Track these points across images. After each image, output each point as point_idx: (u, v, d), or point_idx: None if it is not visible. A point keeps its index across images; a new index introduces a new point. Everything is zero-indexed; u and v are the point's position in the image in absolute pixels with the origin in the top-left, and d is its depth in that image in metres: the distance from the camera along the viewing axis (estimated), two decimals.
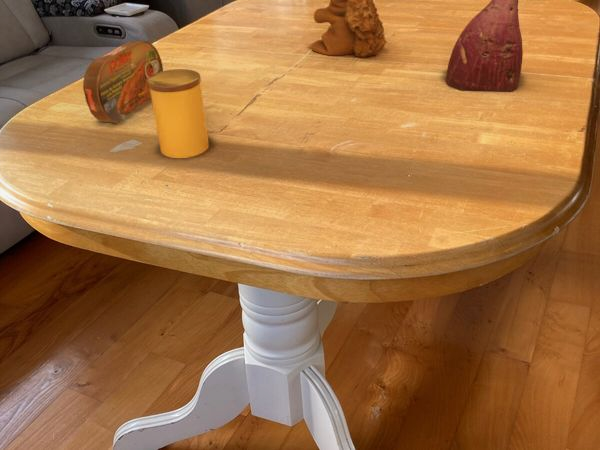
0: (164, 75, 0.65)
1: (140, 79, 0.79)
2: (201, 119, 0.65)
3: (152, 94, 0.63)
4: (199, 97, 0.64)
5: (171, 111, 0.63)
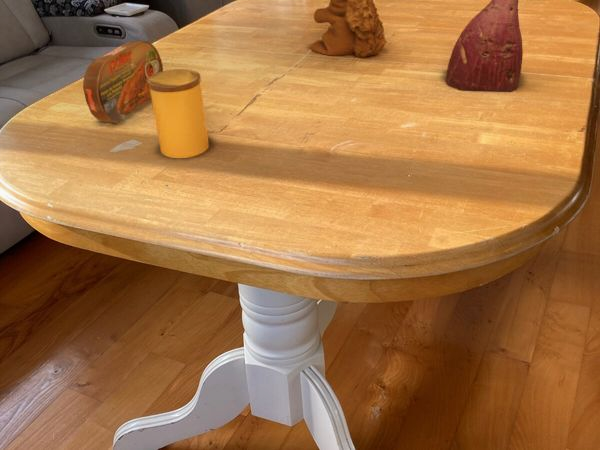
0: (164, 75, 0.65)
1: (140, 79, 0.79)
2: (201, 119, 0.65)
3: (152, 94, 0.63)
4: (199, 97, 0.64)
5: (171, 111, 0.63)
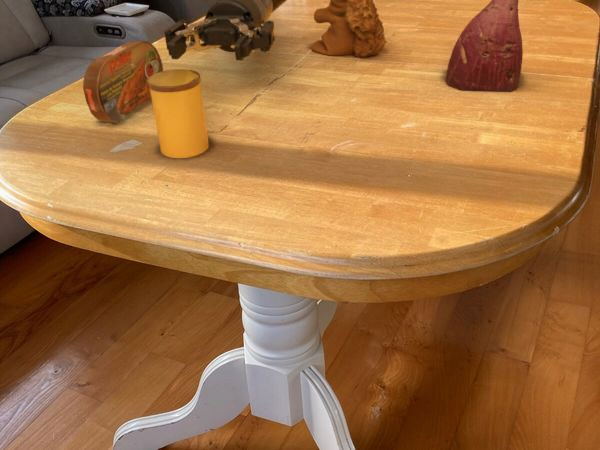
0: (164, 75, 0.65)
1: (140, 79, 0.79)
2: (201, 119, 0.65)
3: (152, 94, 0.63)
4: (199, 97, 0.64)
5: (171, 111, 0.63)
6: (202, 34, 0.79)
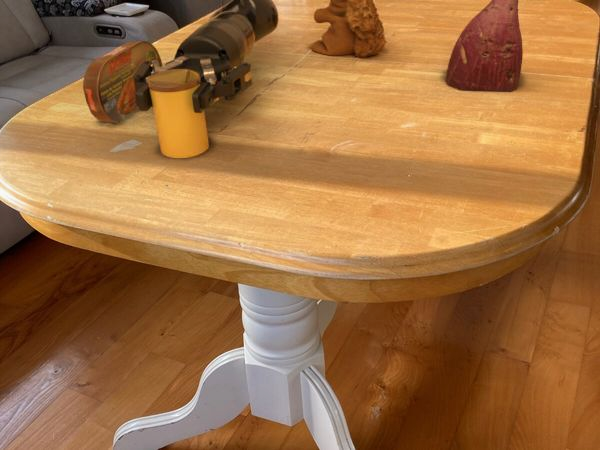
0: (164, 75, 0.65)
1: None
2: (201, 118, 0.65)
3: (152, 95, 0.63)
4: None
5: (171, 111, 0.63)
6: None
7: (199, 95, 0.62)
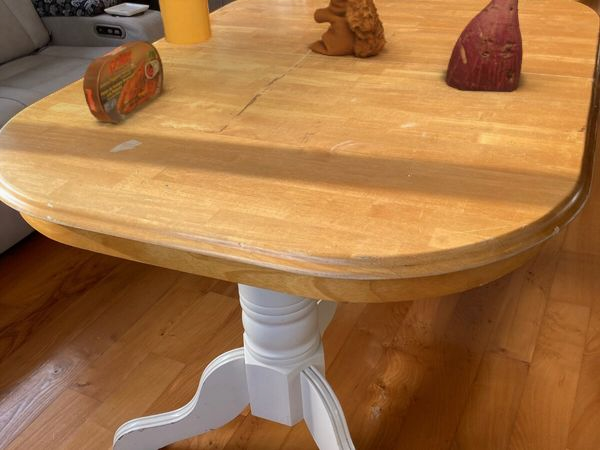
0: None
1: (140, 79, 0.79)
2: (203, 0, 0.67)
3: None
4: None
5: None
6: None
7: None
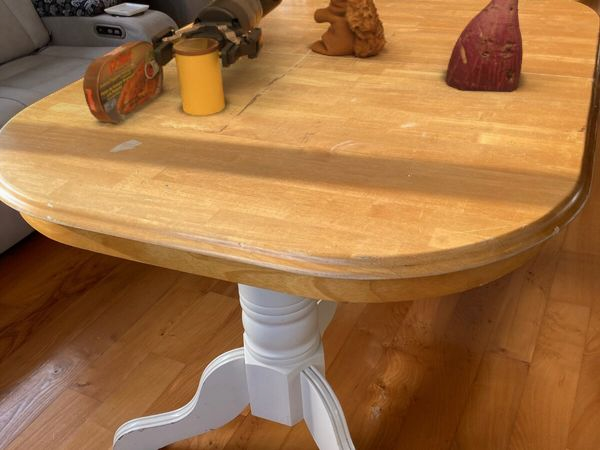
0: (187, 42, 0.75)
1: (140, 79, 0.79)
2: (218, 80, 0.76)
3: (177, 59, 0.73)
4: (218, 61, 0.75)
5: (194, 72, 0.73)
6: None
7: (227, 52, 0.72)
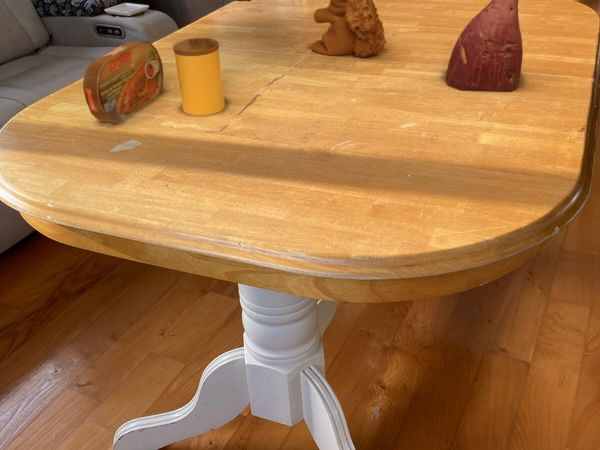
0: (187, 42, 0.75)
1: (140, 79, 0.79)
2: (218, 80, 0.76)
3: (177, 59, 0.73)
4: (218, 61, 0.75)
5: (194, 72, 0.73)
6: None
7: None
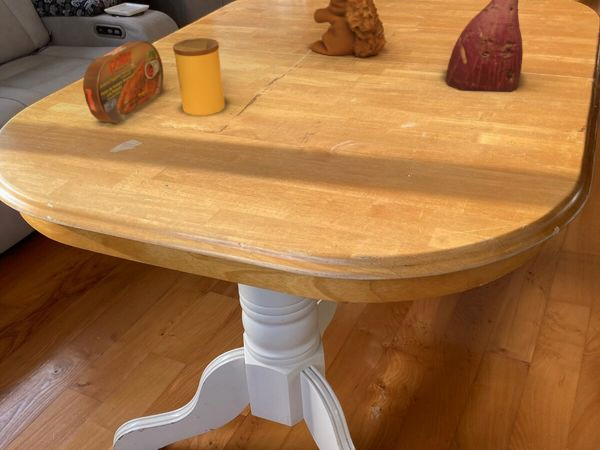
0: (187, 42, 0.75)
1: (140, 79, 0.79)
2: (218, 80, 0.76)
3: (177, 59, 0.73)
4: (218, 61, 0.75)
5: (194, 72, 0.73)
6: None
7: None
